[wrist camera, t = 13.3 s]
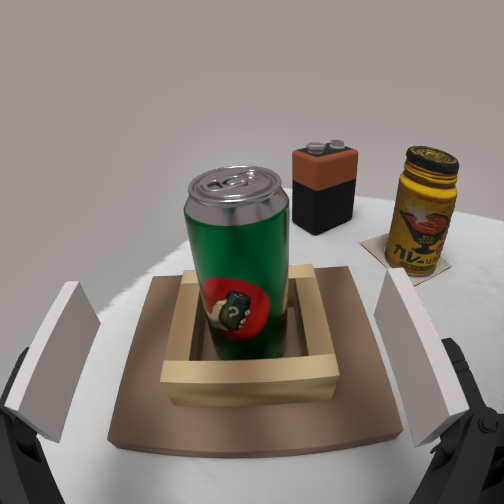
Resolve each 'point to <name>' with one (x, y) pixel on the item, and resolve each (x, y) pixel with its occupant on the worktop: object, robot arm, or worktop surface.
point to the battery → (323, 185)
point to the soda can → (241, 259)
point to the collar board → (255, 377)
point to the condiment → (420, 215)
